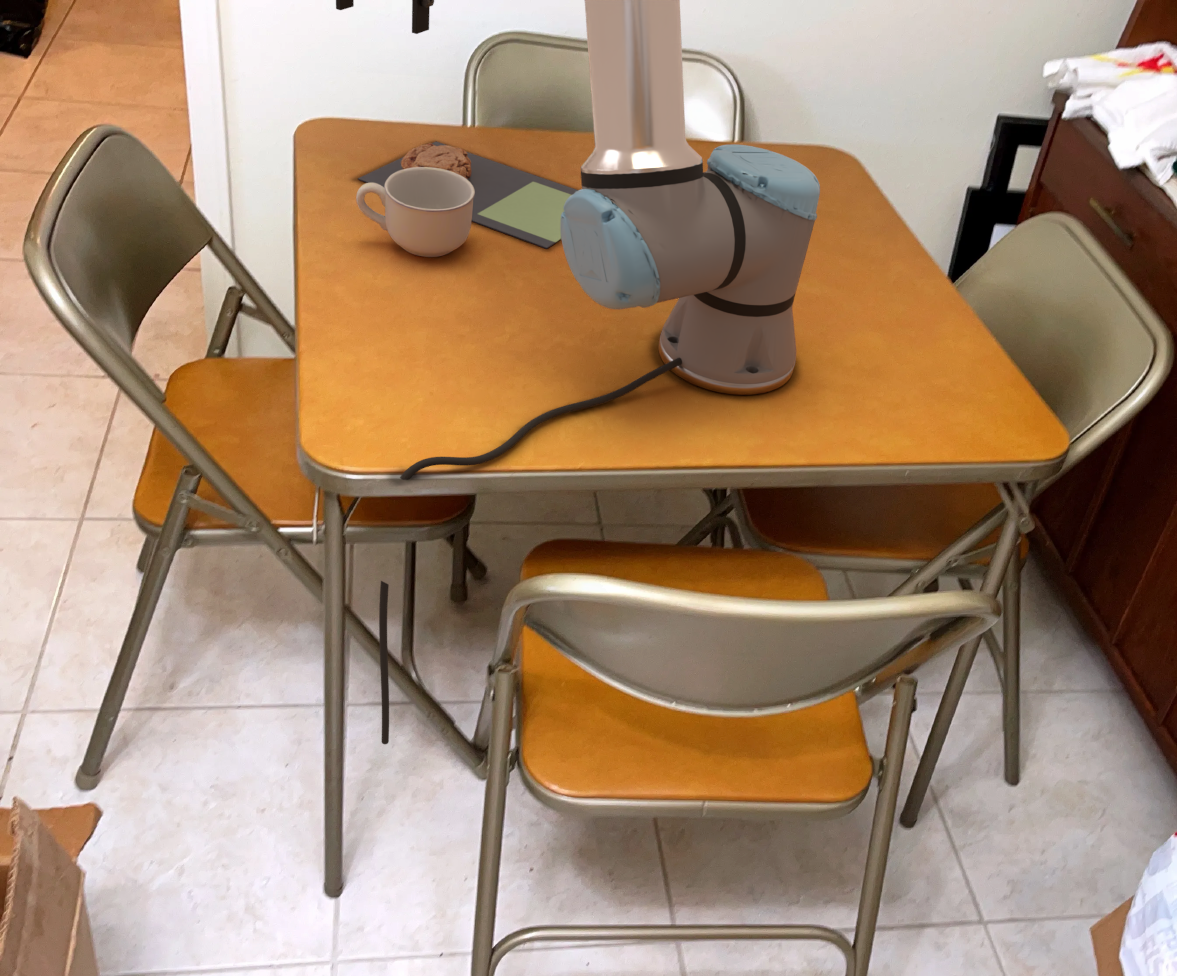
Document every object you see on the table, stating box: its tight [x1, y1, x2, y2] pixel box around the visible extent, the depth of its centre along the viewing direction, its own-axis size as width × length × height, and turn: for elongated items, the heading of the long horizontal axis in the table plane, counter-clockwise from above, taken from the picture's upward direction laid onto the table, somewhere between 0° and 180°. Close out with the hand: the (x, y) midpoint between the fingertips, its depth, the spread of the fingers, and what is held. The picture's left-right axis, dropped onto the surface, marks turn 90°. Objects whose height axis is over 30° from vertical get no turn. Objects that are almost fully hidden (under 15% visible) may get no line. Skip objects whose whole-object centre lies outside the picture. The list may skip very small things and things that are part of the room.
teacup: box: [355, 167, 475, 258], centre depth 136 cm, size 14×11×8 cm
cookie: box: [401, 142, 471, 179], centre depth 155 cm, size 10×11×3 cm
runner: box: [357, 140, 580, 250], centre depth 153 cm, size 18×30×1 cm, turn 61°
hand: (382, 19), depth 148 cm, fingers open, 12 cm apart
